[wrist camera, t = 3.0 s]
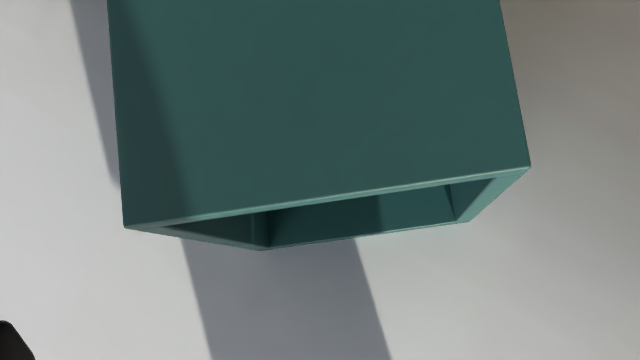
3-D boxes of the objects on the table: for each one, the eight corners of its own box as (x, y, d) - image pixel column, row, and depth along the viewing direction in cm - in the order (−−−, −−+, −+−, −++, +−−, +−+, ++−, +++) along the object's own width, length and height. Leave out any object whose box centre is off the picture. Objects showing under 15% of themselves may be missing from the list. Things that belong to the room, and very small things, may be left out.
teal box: (470, 221, 20) (532, 168, 10) (258, 251, 20) (122, 228, 11) (425, -36, 21) (441, -302, 11) (231, 1, 22) (89, -218, 12)
